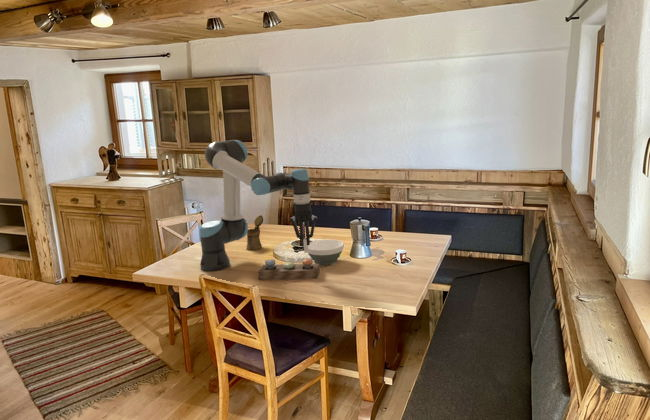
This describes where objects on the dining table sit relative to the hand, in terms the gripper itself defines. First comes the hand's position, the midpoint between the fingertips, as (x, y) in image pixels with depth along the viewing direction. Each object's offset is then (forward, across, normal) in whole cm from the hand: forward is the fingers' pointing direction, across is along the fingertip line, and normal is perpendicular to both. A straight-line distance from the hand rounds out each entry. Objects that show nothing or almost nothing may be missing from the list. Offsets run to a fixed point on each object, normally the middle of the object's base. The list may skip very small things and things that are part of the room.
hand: (306, 251), depth 220 cm
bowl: (+12, +6, +19) cm, 23 cm away
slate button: (+9, -18, 0) cm, 20 cm away
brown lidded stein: (+12, -39, +50) cm, 65 cm away
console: (+12, -9, 0) cm, 15 cm away
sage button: (+10, -9, 0) cm, 14 cm away
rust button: (+9, 0, 0) cm, 9 cm away
